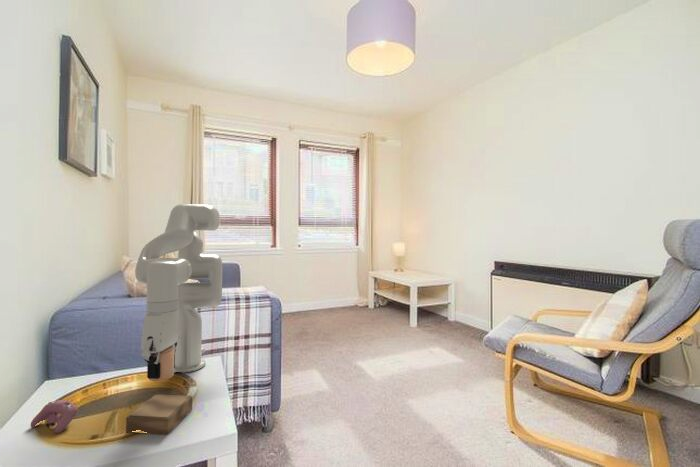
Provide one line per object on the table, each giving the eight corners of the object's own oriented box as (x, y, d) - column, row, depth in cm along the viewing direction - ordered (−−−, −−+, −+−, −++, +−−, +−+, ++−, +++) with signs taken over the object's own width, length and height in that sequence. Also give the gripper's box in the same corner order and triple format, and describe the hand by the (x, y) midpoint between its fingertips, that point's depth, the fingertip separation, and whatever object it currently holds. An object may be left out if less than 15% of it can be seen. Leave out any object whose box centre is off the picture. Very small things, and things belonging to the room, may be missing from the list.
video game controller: (72, 432, 90) (84, 403, 93) (55, 433, 86) (68, 403, 89) (44, 426, 93) (57, 398, 95) (26, 427, 89) (40, 397, 92)
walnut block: (155, 408, 100) (155, 393, 100) (192, 409, 99) (192, 395, 99) (126, 432, 88) (126, 416, 88) (167, 434, 87) (168, 418, 87)
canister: (157, 371, 96) (157, 345, 96) (178, 372, 96) (178, 345, 96) (143, 380, 90) (143, 352, 90) (165, 381, 90) (166, 353, 90)
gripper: (167, 299, 102) (166, 360, 102) (126, 313, 85) (125, 386, 85) (192, 300, 102) (191, 361, 102) (156, 314, 84) (155, 387, 84)
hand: (161, 372), depth 93 cm, fingers closed on canister, 6 cm apart
